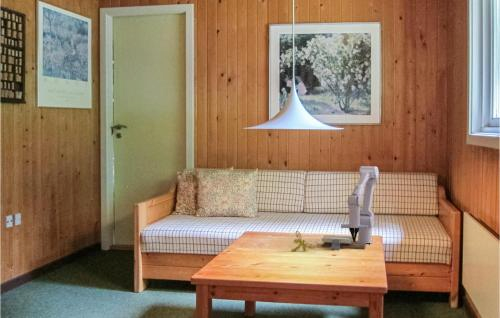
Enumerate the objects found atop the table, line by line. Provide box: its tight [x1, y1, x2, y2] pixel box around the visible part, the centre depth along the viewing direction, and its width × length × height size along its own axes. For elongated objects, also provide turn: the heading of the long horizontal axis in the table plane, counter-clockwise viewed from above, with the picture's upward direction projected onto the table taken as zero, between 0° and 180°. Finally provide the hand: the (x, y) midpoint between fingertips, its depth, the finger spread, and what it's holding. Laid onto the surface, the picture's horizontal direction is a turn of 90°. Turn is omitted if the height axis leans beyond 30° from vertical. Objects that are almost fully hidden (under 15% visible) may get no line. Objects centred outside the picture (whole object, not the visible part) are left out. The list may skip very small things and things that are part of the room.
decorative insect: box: [290, 230, 316, 252], centre depth 287 cm, size 13×3×10 cm
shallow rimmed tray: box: [321, 234, 353, 245], centre depth 302 cm, size 10×16×3 cm, turn 76°
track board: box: [321, 242, 367, 250], centre depth 301 cm, size 12×23×1 cm, turn 76°
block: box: [331, 239, 341, 251], centre depth 292 cm, size 4×4×5 cm
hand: (354, 241), depth 300 cm, fingers closed
